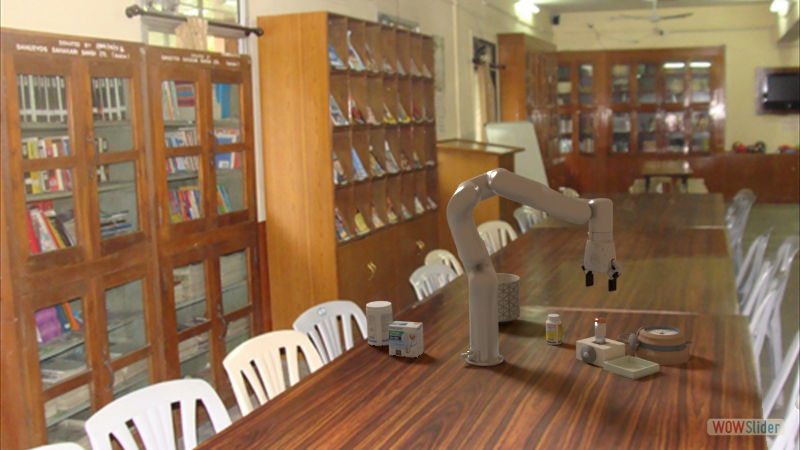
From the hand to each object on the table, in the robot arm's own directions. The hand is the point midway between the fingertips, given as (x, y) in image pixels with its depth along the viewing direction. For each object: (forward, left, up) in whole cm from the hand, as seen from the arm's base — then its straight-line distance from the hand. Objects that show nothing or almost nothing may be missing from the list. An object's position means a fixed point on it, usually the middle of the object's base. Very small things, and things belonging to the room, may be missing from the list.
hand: (600, 288), depth 255 cm
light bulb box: (-46, +47, -24) cm, 70 cm away
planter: (+4, +58, -24) cm, 63 cm away
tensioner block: (0, 0, -24) cm, 24 cm away
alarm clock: (+17, -7, -25) cm, 31 cm away
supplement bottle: (+2, +24, -24) cm, 34 cm away
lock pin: (0, 0, -21) cm, 21 cm away
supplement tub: (-46, +64, -24) cm, 82 cm away
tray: (-1, -13, -24) cm, 28 cm away
